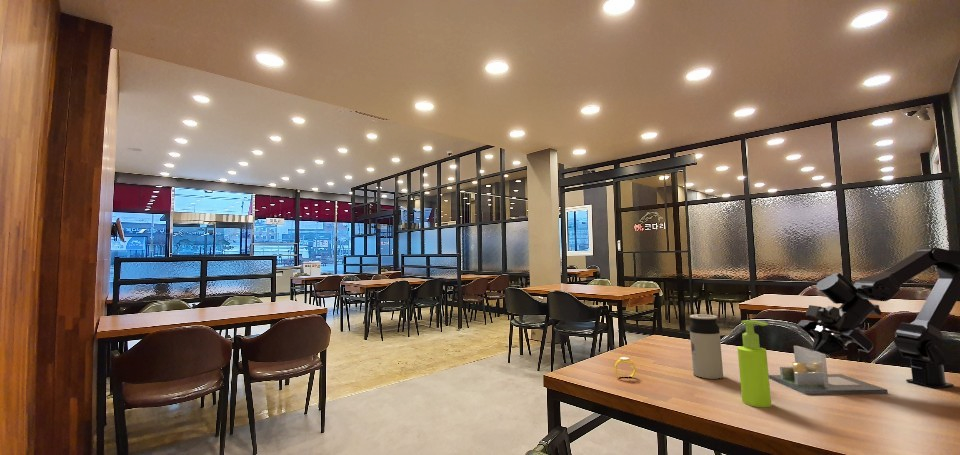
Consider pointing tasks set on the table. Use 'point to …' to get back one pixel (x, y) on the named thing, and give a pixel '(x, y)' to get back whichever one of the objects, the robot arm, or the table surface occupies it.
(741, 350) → the soap dispenser
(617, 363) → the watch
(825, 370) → the grey bracket
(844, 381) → the base
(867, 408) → the table surface
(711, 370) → the travel mug
